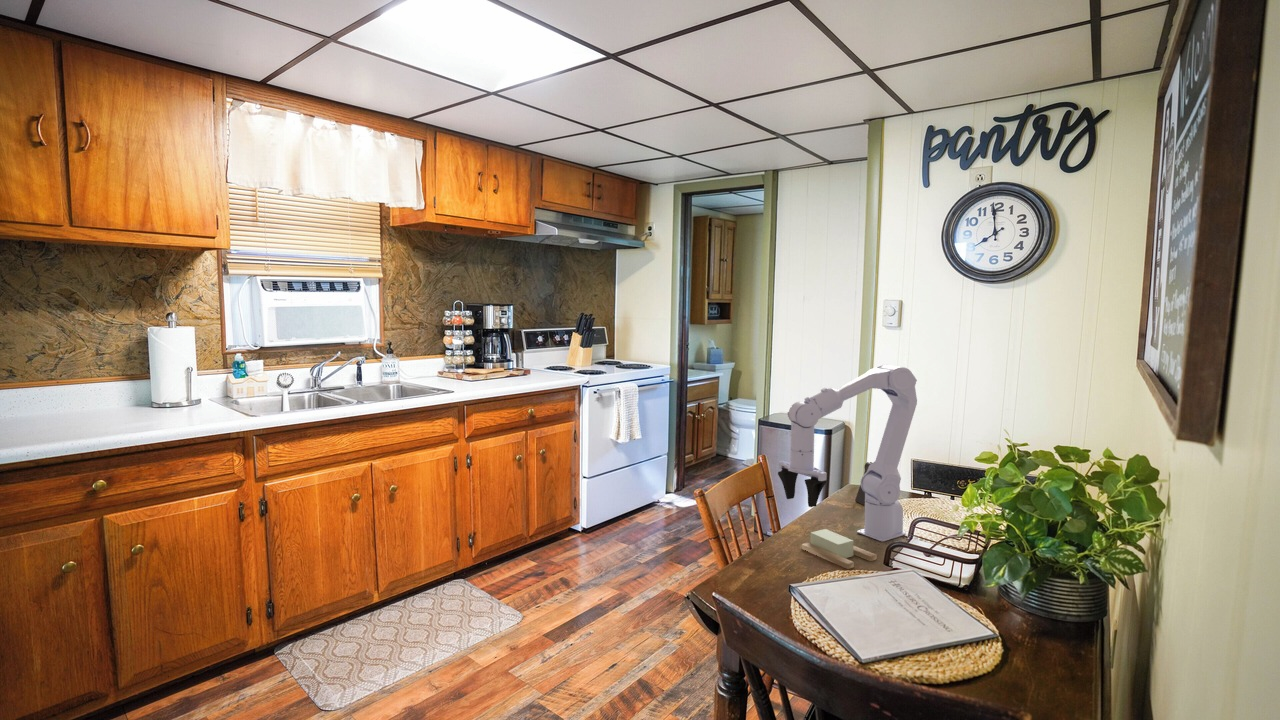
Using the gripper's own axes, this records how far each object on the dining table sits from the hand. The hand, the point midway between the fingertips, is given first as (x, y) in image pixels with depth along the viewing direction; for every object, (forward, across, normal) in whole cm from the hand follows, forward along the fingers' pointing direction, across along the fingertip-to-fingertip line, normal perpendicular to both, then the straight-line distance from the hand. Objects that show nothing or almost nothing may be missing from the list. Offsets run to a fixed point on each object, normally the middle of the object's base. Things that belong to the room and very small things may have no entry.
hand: (801, 502), depth 152 cm
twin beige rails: (+10, +12, 0) cm, 15 cm away
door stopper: (+9, -9, +40) cm, 42 cm away
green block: (+10, +10, 0) cm, 14 cm away
